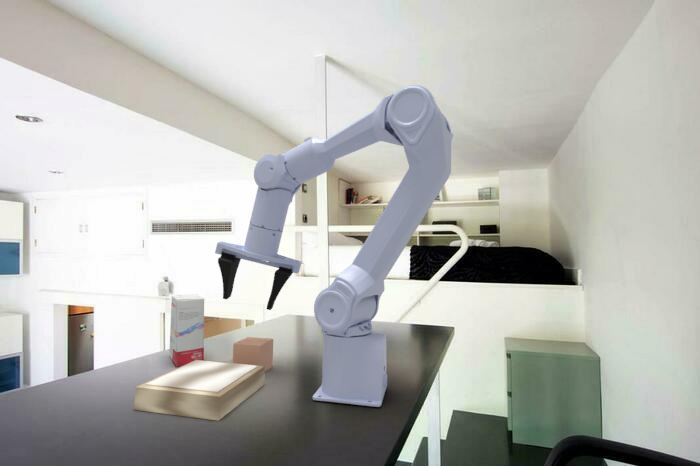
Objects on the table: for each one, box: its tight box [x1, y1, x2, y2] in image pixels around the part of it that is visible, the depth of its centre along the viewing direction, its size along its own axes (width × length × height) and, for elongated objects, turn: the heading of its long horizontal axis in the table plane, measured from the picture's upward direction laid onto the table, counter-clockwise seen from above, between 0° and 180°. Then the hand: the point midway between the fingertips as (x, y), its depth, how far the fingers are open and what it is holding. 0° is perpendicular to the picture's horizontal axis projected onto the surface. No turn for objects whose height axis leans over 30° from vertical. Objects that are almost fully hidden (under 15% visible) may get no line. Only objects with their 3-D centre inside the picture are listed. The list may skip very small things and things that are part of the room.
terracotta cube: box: [232, 336, 274, 374], centre depth 60 cm, size 5×5×5 cm
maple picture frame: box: [133, 360, 265, 422], centre depth 49 cm, size 12×12×3 cm
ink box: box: [169, 293, 205, 368], centre depth 65 cm, size 9×5×12 cm, turn 33°
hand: (248, 302), depth 60 cm, fingers open, 7 cm apart
